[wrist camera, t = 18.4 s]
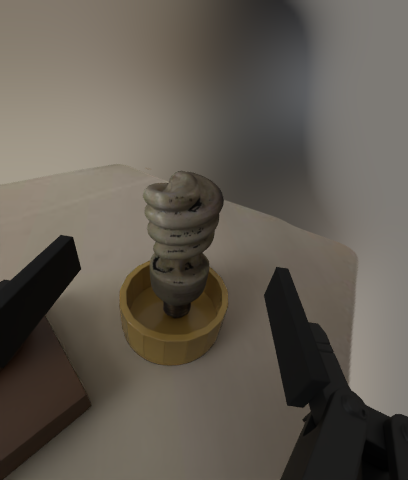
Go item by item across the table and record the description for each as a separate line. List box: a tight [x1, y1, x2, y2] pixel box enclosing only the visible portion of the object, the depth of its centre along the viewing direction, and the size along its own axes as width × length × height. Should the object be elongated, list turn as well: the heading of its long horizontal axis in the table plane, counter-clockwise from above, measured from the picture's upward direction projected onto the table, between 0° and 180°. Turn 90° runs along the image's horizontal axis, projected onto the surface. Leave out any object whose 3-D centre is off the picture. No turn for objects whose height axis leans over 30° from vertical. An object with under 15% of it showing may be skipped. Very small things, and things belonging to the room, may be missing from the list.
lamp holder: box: [119, 261, 228, 366], centre depth 22 cm, size 10×10×4 cm
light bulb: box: [143, 171, 224, 318], centre depth 19 cm, size 6×6×15 cm
